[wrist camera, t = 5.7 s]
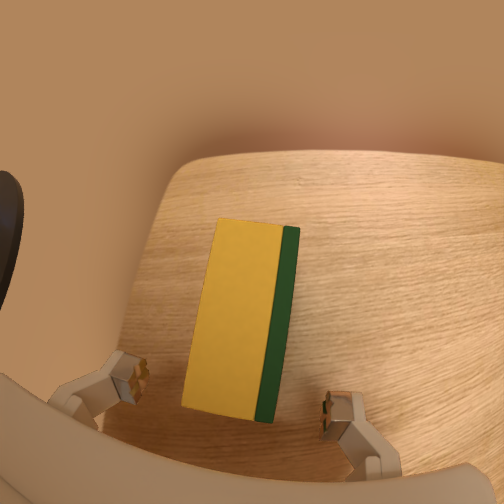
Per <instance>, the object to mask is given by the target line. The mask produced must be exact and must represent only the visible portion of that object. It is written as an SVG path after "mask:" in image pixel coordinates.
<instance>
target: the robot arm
mask: <svg viewBox="0 0 504 504" xmlns="http://www.w3.org/2000/svg"><path fill="white" fill-rule="evenodd" d="M146 365H147V362H146V359H144V358H141V357H138V356H135V355H132V354H129V353H126V352H123V351H120V350H115V351H114V352H113V353H112V355H111V356H110V357H109V359H108V360H107V361H106V363H105V364H104V365H103V367H102V368H101V370H100V371H94V372H92V373H90V374H87V375H85V376H83V377H81V378H78V379H76V380H73V381H71V382H68V383H66V384H64V385H61V386H59V387H58V389H57V390H56V391H55V393H54V394H53V395H52V397H51V398H50V399H49V400H48V402H47V403H46V402H44V401H43V400H41V399H39V398H38V397H36V396H34V395H33V394H32V393H30V392H29V391H27V390H26V389H24V388H23V387H22V386H20V385H19V384H17V383H16V382H15V381H13V380H12V379H11V378H9V377H8V376H7V375H5V374H3V373H0V504H497V501H496V497H495V493H494V489H493V487H492V484H491V482H490V480H489V478H488V477H487V476H486V475H485V474H484V473H482V472H481V471H480V470H479V469H477V468H476V467H475V466H473V465H471V464H470V463H461V464H458V465H454V466H451V467H447V468H443V469H439V470H434V471H430V472H425V473H420V474H414V475H409V476H402V470H401V463H400V457H399V453H398V452H397V451H396V450H395V449H394V448H393V446H392V445H391V444H390V443H389V442H388V441H387V440H386V439H385V438H384V437H383V436H382V435H381V433H380V432H379V431H378V430H377V429H376V428H375V427H374V426H373V425H372V424H371V423H370V421H366V415H365V408H364V401H363V395H362V393H361V392H345V391H328V392H327V393H326V396H325V397H326V400H325V401H323V402H322V405H321V408H320V415H319V421H320V422H321V423H322V425H321V426H320V428H319V441H333V442H337V443H338V444H339V446H340V447H341V449H342V450H343V452H344V453H345V455H346V456H347V458H348V459H349V461H350V463H351V464H352V466H353V467H354V469H355V470H354V471H353V472H352V473H351V474H350V475H349V476H348V477H347V478H346V479H345V482H301V481H286V480H275V479H265V478H257V477H250V476H244V475H238V474H232V473H226V472H221V471H217V470H212V469H207V468H203V467H199V466H195V465H191V464H187V463H184V462H180V461H177V460H173V459H170V458H167V457H163V456H160V455H157V454H154V453H151V452H149V451H146V450H143V449H140V448H137V447H135V446H132V445H130V444H127V443H125V442H122V441H120V440H117V439H115V438H113V437H110V436H108V435H106V434H104V433H102V432H99V431H97V430H98V425H97V424H96V422H95V421H94V419H93V418H94V417H96V416H97V415H99V414H101V413H102V412H104V411H106V410H107V409H109V408H110V407H112V406H114V405H115V404H117V403H118V402H120V401H121V400H122V401H125V402H128V403H131V404H134V405H137V403H138V401H139V399H140V398H141V396H142V394H141V390H143V389H145V388H146V387H147V385H148V382H149V370H148V369H147V368H146Z"/></svg>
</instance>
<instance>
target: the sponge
mask: <svg viewBox="0 0 504 504" xmlns="http://www.w3.org/2000/svg"><path fill="white" fill-rule="evenodd" d="M299 238H300V228H299V227H292V226H284V227H283V226H282V225H275V224H267V223H259V222H251V221H243V220H234V219H225V218H218V221H217V225H216V230H215V234H214V238H213V243H212V247H211V251H210V256H209V260H208V265H207V270H206V274H205V279H204V283H203V288H202V293H201V298H200V303H199V308H198V313H197V318H196V323H195V328H194V333H193V338H192V344H191V349H190V354H189V360H188V365H187V371H186V377H185V383H184V389H183V395H182V401H181V406H183V407H187V408H191V409H195V410H199V411H203V412H208V413H213V414H217V415H222V416H227V417H233V418H238V419H244V420H251V421H253V420H255V421H257V422H264V423H273V420H274V415H275V409H276V404H277V398H278V392H279V386H280V380H281V374H282V368H283V362H284V355H285V349H286V342H287V335H288V328H289V321H290V314H291V306H292V298H293V291H294V282H295V274H296V265H297V256H298V247H299Z"/></svg>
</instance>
